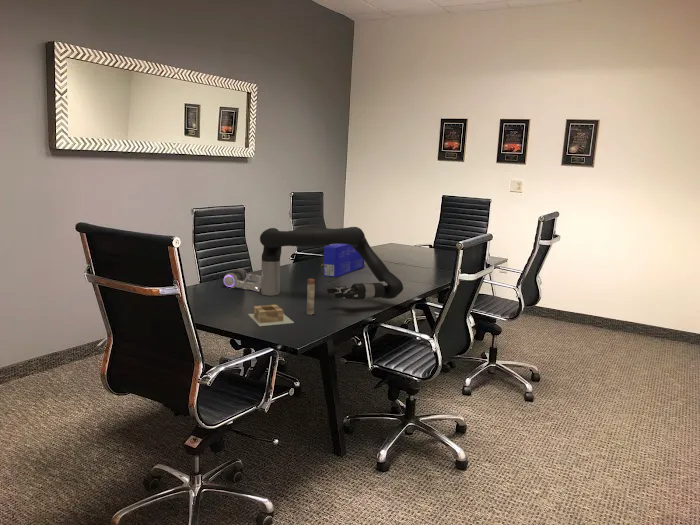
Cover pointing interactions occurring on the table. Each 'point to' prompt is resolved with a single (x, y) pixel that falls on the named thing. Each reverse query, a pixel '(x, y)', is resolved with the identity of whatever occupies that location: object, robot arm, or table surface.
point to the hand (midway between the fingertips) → (331, 293)
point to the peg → (310, 296)
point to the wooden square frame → (268, 313)
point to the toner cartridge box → (341, 260)
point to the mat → (285, 321)
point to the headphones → (242, 280)
